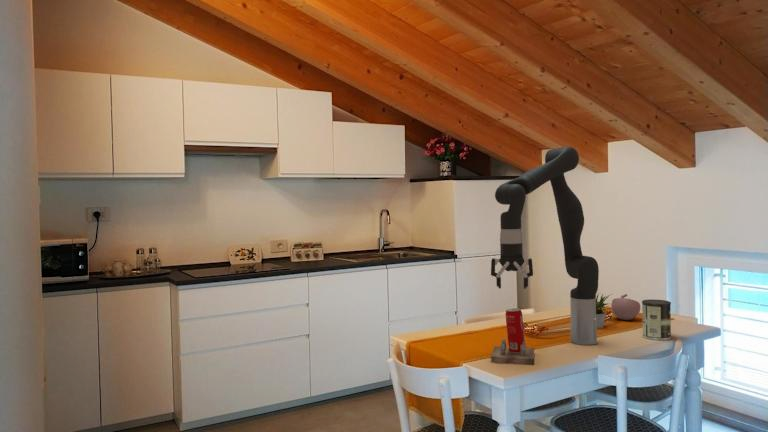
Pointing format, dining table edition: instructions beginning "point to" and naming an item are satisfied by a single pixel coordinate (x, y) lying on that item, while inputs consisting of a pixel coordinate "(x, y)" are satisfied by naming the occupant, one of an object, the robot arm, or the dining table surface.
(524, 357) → the peg board
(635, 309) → the pink apple
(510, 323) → the beverage can
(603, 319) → the house plant
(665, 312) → the coffee can
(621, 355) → the dining table surface
